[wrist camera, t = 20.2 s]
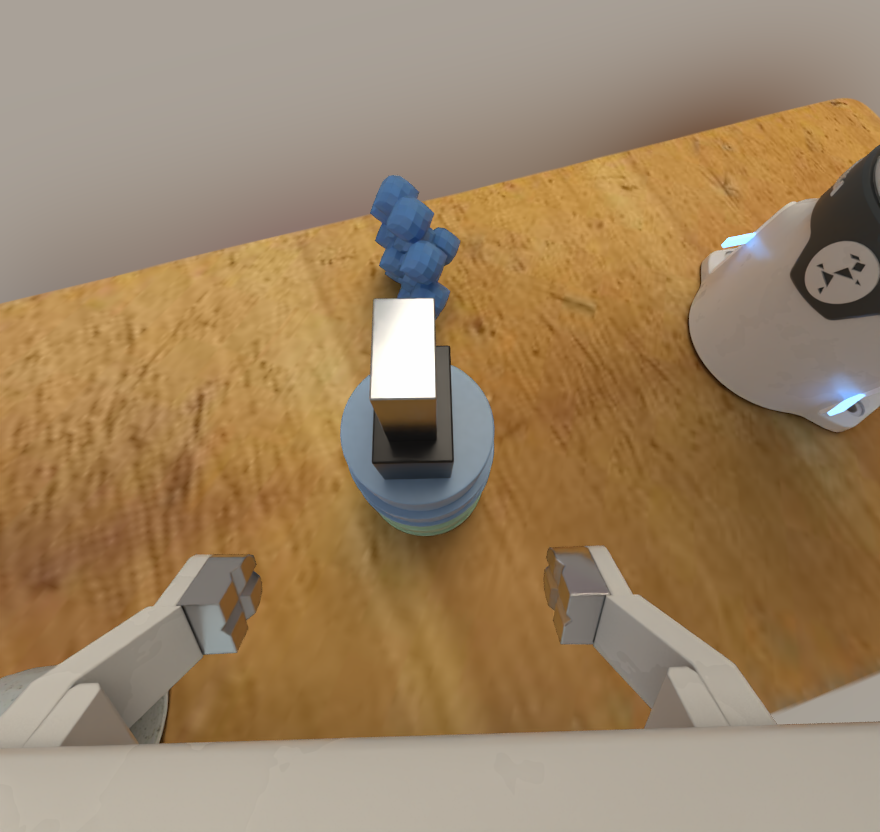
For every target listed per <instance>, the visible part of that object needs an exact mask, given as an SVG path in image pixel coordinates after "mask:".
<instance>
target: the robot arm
mask: <svg viewBox="0 0 880 832" xmlns="http://www.w3.org/2000/svg"><path fill="white" fill-rule="evenodd" d="M740 244H741V245H740ZM735 245H740V246H739V247H737V248H732V249H725V250H719V251H715V252H712V253H711V254H710V255H709V256H708V257H706V258H705V259H704V260H703V262H702V265H701V282H702V283H701V286H700V289H699V291H698V292H697V294H696V296H695V298H694V300H693V302H692V305H691V308H690V313H689V329H690V334H691V338H692V341H693V344H694V347H695V349H696V351H697V353H698V355H699V357H700V358H701V360H702V361H703V363H704V364H705V366H706V367H707V368H708V370H709V371H710V372H711V373H712V374H713V375H714V376H715V377H716V378H717V379H718V380H719V381H720V382H721V383H722V384H723V385H724V386H726V387H727V388H728V389H730V390H731V391H732V392H734V393H735V394H737V395H739V396H740V397H742V398H744V399H746V400H748V401H750V402H752V403H754V404H756V405H759V406H762V407H765V408H768V409H771V410H776V411H781V412H786V413H792V414H796V415H799V416H802V417H804V418H806V419H808V420H810V421H812V422H813V423H815V424H817V425H819V426H821V427H823V428H825V429H827V430H830V431H833V432H843V431H845V430H848V429H850V428H852V427H854V426H856V425H857V424H859V423H860V422H861V421H862V420H863V419H865V418H866V417H867V416H868V415H870V414H871V413H872V412H873V411H874V410H876V409H877V408H878V407H879V406H880V145H879V146H877V147H876V148H875V149H874V150H872V151H871V152H870V153H869V154H868V155H867V156H865V157H864V158H862V159H860V160H859V161H857V162H856V163H855V164H854V165H853V166H851V167H850V168H849V169H848V170H847V171H846V172H845V173H844V174H842V175H841V177H839V179H838V180H837V182H836V183H835V184H834V185H833V186H832V187H831V188H830V189H828V190H827V191H826V192H825V193H824V194H823V195H822V196H821V197H820V198H813V199H806V200H802V201H800V202H791V203H789V204H787V205H785V206H784V207H783V208H781V209H780V210H779V211H778V212H777V213H776V214H774V215H773V216H772V217H771V218H770V219H769V220H768V221H767V222H765V223H764V224H763V225H762V226H761V227H760V228H759V229H758V230H756V231H755V232H754V233H751V234H745V235H740V236H735V237H730V238H727V239H726V240H725V242H724V243H723V244H722V247H723V248H725V247H730V246H735ZM546 558H547V561H548V564H549V566H548V567H547V568H546V569H545V570H544V578H543V580H544V591H545V596H546V600H547V603H548V606H549V607H551V608H552V609H553V610H554V617H553V622H554V625H555V628H556V632H557V635H558V638H559V641H560V644H594V645H593V646H594V647H595V649H596V650H597V651H598V652H599V653H600V654H601V655H602V656H603V657H604V658H605V659H606V660H607V661H608V663H609V664H610V665H611V666H612V667H613V668H614V669H615V670H616V671H617V672H618V673H619V674H620V675H621V677H622V678H623V679H624V680H625V681H626V682H627V683H628V684H629V685H630V686H631V687H632V688H633V689H634V691H635V692H636V693H637V694H638V695H639V696H640V697H641V698H642V699H643V700H644V701H645V702H646V703H647V705H648V706H649V707H650V708H651V709H652V710H651V713H650V715H649V718H648V720H647V723H646V725H645V727H644V729H622V730H589V731H556V732H523V733H490V734H457V735H423V736H391V737H359V738H328V739H296V740H263V741H230V742H197V743H164V744H139V743H138V741H137V740H136V738H135V737H134V735H133V734H132V732H131V731H130V729H129V728H130V727H131V726H132V725H133V724H134V723H135V722H136V721H137V720H138V719H139V718H141V717H142V716H143V715H144V714H145V713H146V712H147V711H148V710H149V709H150V708H151V707H152V706H153V705H154V704H155V703H156V702H157V701H158V700H159V699H160V698H161V697H162V696H163V695H164V694H165V693H166V692H167V691H168V690H169V689H170V688H171V687H172V686H173V685H175V684H176V683H177V682H178V681H179V680H180V679H181V678H182V677H183V676H184V675H185V674H186V673H187V672H188V671H189V670H190V669H191V668H192V667H193V666H194V665H195V664H196V663H197V662H198V661H199V660H200V659H201V658H202V657H203V655H206V654H224V653H237V652H238V650H239V647H240V645H241V643H242V641H243V639H244V637H245V635H246V632H247V630H248V625H247V622H246V620H247V619H249V618H250V617H251V616H252V615H253V614H255V613H256V611H257V608H258V606H259V604H260V600H261V595H262V581H261V578H260V576H259V575H258V574H257V573H255V572H254V571H253V570H254V568H255V567H256V565H257V564H256V561H255V558H254V555H250V554H213V555H194V556H192V557H191V558H189V559H188V561H187V562H186V563H185V565H184V566H183V567H182V569H181V570H180V571H179V573H178V574H177V575H176V577H175V578H174V579H173V581H172V582H171V584H170V585H169V586H168V588H167V589H166V590H165V592H164V593H163V594H162V596H161V597H160V598H159V600H158V601H157V602H156V604H155V605H154V606H151V607H146V608H145V609H143V610H142V611H140V612H138V613H137V614H135V615H134V616H132V617H131V618H129V619H128V620H126V621H125V622H123V623H122V624H120V625H119V626H117V627H115V628H114V629H112V630H111V631H109V632H108V633H106V634H105V635H103V636H102V637H100V638H99V639H97V640H96V641H94V642H92V643H91V644H89V645H88V646H86V647H85V648H83V649H82V650H80V651H79V652H77V653H76V654H74V655H72V656H71V657H69V658H68V659H66V660H65V661H63V662H62V663H60V664H59V665H57V666H56V667H54V668H53V669H51V670H49V671H48V672H46V673H45V674H43V675H42V676H40V677H39V678H37V679H36V680H34V681H33V682H31V683H30V684H29V685H28V686H27V688H26V689H25V690H24V691H23V692H22V693H21V694H20V695H19V697H18V698H17V699H16V700H15V701H14V702H13V703H12V704H11V705H10V707H9V708H8V709H7V710H6V711H5V712H4V713H3V714H2V716H1V717H0V832H880V722H853V723H852V722H851V723H818V724H787V725H777V723H776V722H775V720H774V719H773V717H772V716H771V715H770V713H769V712H768V710H767V709H766V708H765V706H764V705H763V703H762V702H761V700H760V699H759V698H758V696H757V695H756V693H755V692H754V690H753V689H752V688H751V686H750V685H749V683H748V682H747V680H746V679H745V678H744V676H743V675H742V673H741V672H740V671H739V669H738V668H737V666H736V665H735V664H734V663H733V662H731V661H730V660H729V659H727V658H726V657H725V656H723V655H722V654H720V653H719V652H718V651H716V650H715V649H713V648H712V647H711V646H709V645H708V644H706V643H705V642H704V641H702V640H701V639H700V638H698V637H697V636H695V635H694V634H693V633H691V632H690V631H688V630H687V629H686V628H684V627H683V626H682V625H680V624H679V623H677V622H676V621H675V620H673V619H672V618H670V617H669V616H668V615H666V614H665V613H663V612H662V611H661V610H659V609H658V608H657V607H655V606H654V605H652V604H651V603H650V602H648V601H647V600H645V599H644V598H643V597H641V596H640V595H633V594H632V592H631V590H630V588H629V587H628V585H627V583H626V581H625V580H624V578H623V576H622V574H621V572H620V571H619V569H618V567H617V565H616V564H615V562H614V560H613V558H612V557H611V555H610V553H609V551H608V550H607V548H606V547H605V546H585V547H584V546H573V547H549V549H548V551H547V556H546Z"/></svg>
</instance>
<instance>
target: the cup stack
mask: <svg viewBox="0 0 880 832" xmlns="http://www.w3.org/2000/svg"><path fill="white" fill-rule="evenodd" d="M451 386H452V415H453V444H454V463H453V469H452V475H451V478H436V479H388V480H385V479H384V478H383V477H382V476H381V474H380V473H379V472H378V471H377V469H376V468H375V467H374V465H373V464H372V436H373V410H374V409H373V406H372V404H371V402H370V400H369V390H370V375H369V376H367V377H366V378H365V379H364V380H363V381H362V382H361V383H360V384H359V385H358V387H357V388H356V389H355V390H354V392H353V393H352V395H351V397H350V398H349V400H348V402H347V404H346V407H345V409H344V413H343V416H342V421H341V432H340V437H341V446H342V450H343V453H344V457H345V459H346V461H347V464H348V466H349V470H350V473H351V475H352V478H353V480H354V482H355V483H356V485H357V487H358V488H359V490H360V491H361V492H362V494H363V496H364V497H365V499H366V500H367V501H368V502H369V504H370V505H371V506H372V507H373V508H374V509H375V510H376V511H378V512H379V514H380V515H381V516H382V517H383V518H384V519H385V520H386V521H387V522H388V523H389V524H391V525H392V526H393V527H395V528H397V529H399V530H401V531H403V532H405V533H408V534H412V535H417V536H433V535H438V534H442V533H445V532H448V531H450V530H452V529H454V528H455V527H457V526H458V525H460V524H461V523H462V522H463V521H464V520H466V519H467V518H468V516H469V515H470V514H471V513H472V512H473V510H474V508H475V507H476V505H477V503H478V501H479V499H480V496H481V493H482V491H483V489H484V487H485V485H486V483H487V480H488V477H489V474H490V469H491V465H492V462H493V456H494V420H493V415H492V411H491V407H490V405H489V402H488V400H487V398H486V396H485V395H484V393H483V391H482V390H481V389H480V387H479V386H478V385H477V384H476V383H475V381H474V380H473V379H472V378H471V377H469V376H468V375H467V374H465V373H464V372H463V371H461V370H460V369H458V368H456V367H454V366H452V365H451Z"/></svg>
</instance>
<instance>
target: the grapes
mask: <svg viewBox="0 0 880 832" xmlns="http://www.w3.org/2000/svg"><path fill="white" fill-rule="evenodd" d="M418 194H419V192H418V191H417V190H416V189H415V188H414V187H413V186H412V185H411V184H410V183H409V182H408V181H406V180H405V179H403V178H402V177H400V176H394V175H392V176H388V177H387V178H386V179H385V180H384V181H383V182H382V185H381V187H380V189H379V191H378V193H377V195H376V198H375V201H374V204H373V206H372V209H371V212H370V214H372V215H373V216H374V217H375V218H376V219H378V220H379V221H381V222H382V225H381V227H380V229H379V231H378V234H377V237H376V240H375V241H376V242H377V243H378V244H380V245H381V246H382V247H384V248H385V251H384V254H383V256H382V258H381V262H380V265H379V266H380V267H381V268H383V269H384V270H385V271H386V272H385V274H386V275H387V276H388V277H390V278H391V279H393V280H394V281H395V282H398V283H400V284H401V289H400V291H399V294H398V297H397V298H434V299H435V320H436V319H437V317H438V316H439V314H440V312H441V311H442V310H443V308H444V307H445V305H446V302H447V300H448V297H449V293H450V291H449V290H448V289H447V288H446V287H445V286H443V285H442V284H440V283H439V282H438V280H439V277H440V276H441V273H442V270H443V267H444V266H445V265H447V264H449V263H450V262H451V261H452V260H453V258H454V257H455V255H456V253H457V250H458V248H459V244H460V240H459V239H458V238H457V237H456V236H455V235H453V234H452V233H451V232H449V231H448V230H446V229H445V228H439V227H438V228H436V229H434V230H432V229H431V228H430V224H431V221H432V218H433V215H434V213H433V212H432V211H431V210H430V209H429V208H428V207H427V206H426V205H425V204H423V203H422V202H421V201H419V200H418V199H417V197H418Z"/></svg>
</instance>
